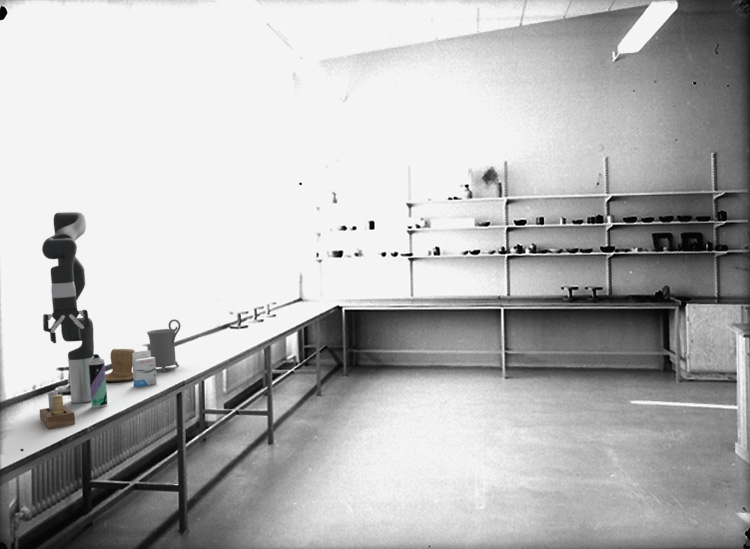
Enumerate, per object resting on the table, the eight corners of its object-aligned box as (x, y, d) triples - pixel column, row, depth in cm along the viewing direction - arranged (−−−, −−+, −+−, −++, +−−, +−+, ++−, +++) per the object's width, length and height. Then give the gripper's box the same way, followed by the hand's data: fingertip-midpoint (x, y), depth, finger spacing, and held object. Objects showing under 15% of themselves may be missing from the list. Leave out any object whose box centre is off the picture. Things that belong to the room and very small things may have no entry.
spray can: (88, 407, 225) (84, 355, 224) (99, 403, 230) (96, 352, 229) (99, 408, 223) (95, 355, 222) (110, 404, 228) (107, 353, 227)
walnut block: (40, 420, 210) (39, 409, 210) (65, 415, 215) (64, 404, 215) (48, 429, 198) (48, 417, 198) (75, 423, 203) (74, 412, 203)
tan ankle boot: (141, 376, 280) (139, 345, 279) (132, 382, 268) (130, 349, 267) (108, 378, 279) (106, 347, 278) (98, 384, 267) (95, 351, 267)
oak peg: (53, 424, 203) (51, 396, 203) (63, 422, 205) (61, 394, 205) (56, 426, 201) (53, 397, 201) (65, 424, 203) (63, 395, 203)
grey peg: (49, 420, 210) (47, 392, 209) (58, 418, 212) (56, 390, 211) (51, 421, 207) (48, 393, 207) (60, 420, 209) (58, 392, 209)
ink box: (137, 387, 256) (135, 353, 256) (133, 385, 260) (131, 352, 259) (157, 383, 262) (154, 350, 262) (152, 382, 266) (150, 349, 265)
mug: (140, 372, 289) (136, 322, 288) (156, 366, 304) (153, 318, 303) (175, 372, 286) (172, 321, 285) (190, 366, 300) (187, 317, 299)
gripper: (83, 292, 215) (87, 336, 216) (39, 297, 206) (43, 343, 207) (88, 294, 209) (92, 339, 210) (43, 298, 200) (47, 345, 202)
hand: (68, 341), depth 209 cm, fingers open, 8 cm apart
